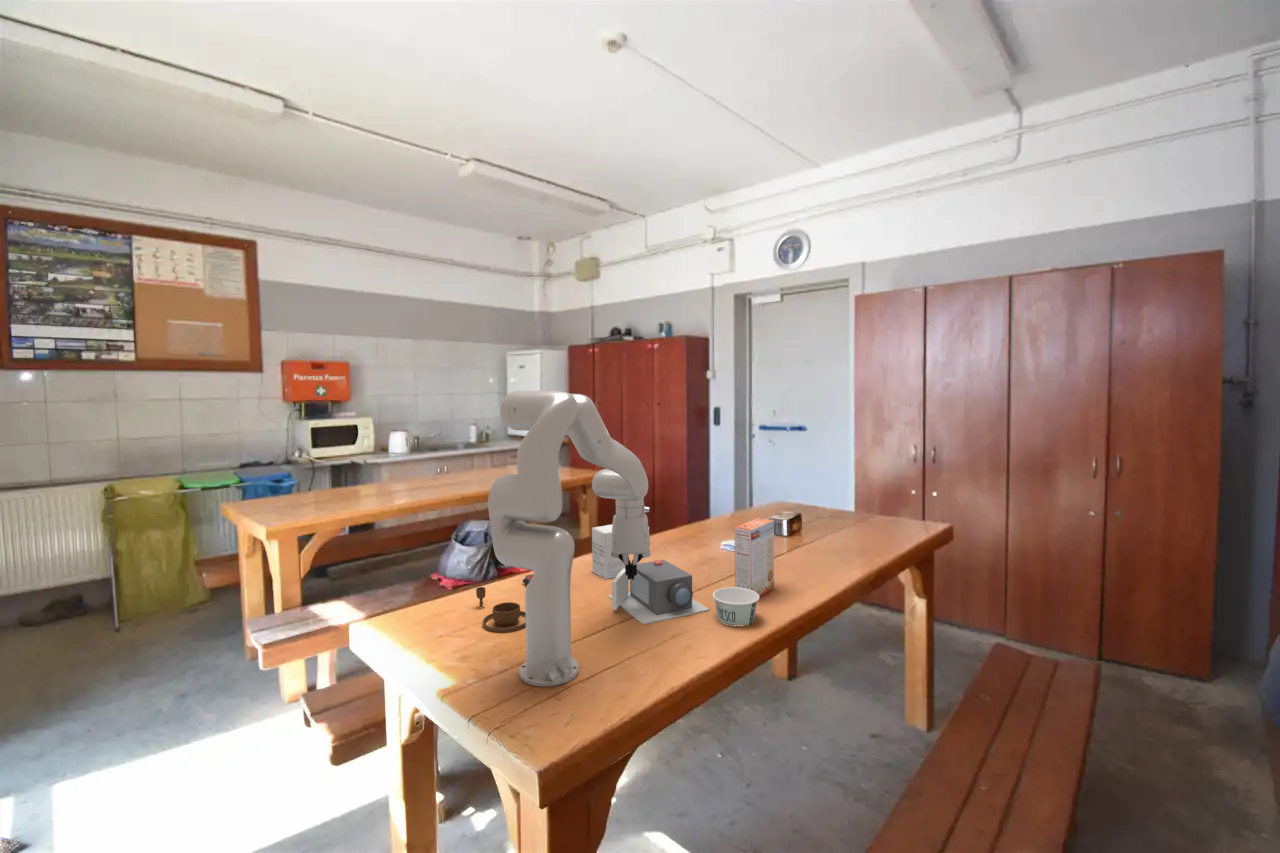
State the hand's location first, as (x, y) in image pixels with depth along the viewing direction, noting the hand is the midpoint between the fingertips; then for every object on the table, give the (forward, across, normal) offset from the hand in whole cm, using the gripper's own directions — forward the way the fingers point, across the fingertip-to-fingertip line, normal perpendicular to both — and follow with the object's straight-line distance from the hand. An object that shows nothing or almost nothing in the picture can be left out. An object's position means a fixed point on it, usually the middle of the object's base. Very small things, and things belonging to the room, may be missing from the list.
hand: (631, 577), depth 160 cm
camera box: (+9, -8, -5) cm, 13 cm away
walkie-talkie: (+10, +28, -13) cm, 32 cm away
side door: (+8, +3, -3) cm, 9 cm away
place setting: (+9, +33, +7) cm, 35 cm away
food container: (+9, -28, +5) cm, 30 cm away
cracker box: (+10, -35, -14) cm, 39 cm away
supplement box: (+10, +9, -30) cm, 33 cm away
